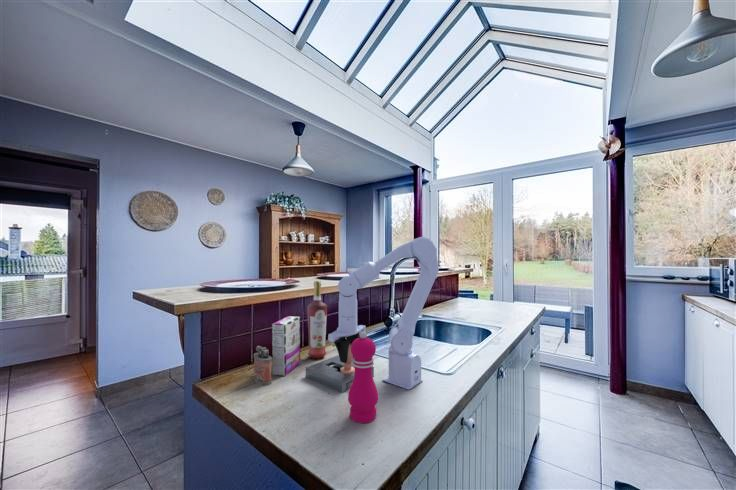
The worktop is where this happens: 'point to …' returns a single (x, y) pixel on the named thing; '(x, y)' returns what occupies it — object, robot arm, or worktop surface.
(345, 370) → the peg
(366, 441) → the worktop surface
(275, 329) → the candy bar box
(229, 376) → the worktop surface
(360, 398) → the pepper mill
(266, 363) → the lighter
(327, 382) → the keyhole plate
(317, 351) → the liquor
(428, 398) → the worktop surface
